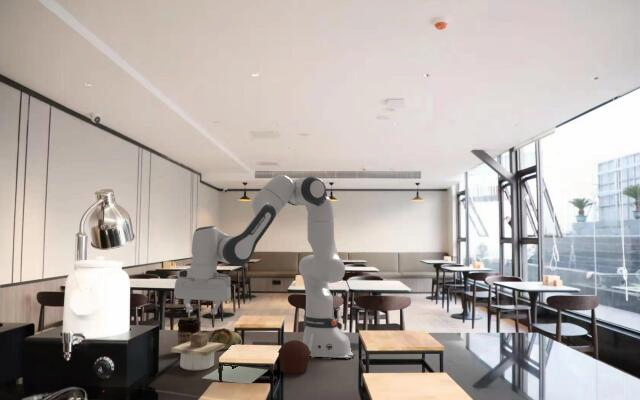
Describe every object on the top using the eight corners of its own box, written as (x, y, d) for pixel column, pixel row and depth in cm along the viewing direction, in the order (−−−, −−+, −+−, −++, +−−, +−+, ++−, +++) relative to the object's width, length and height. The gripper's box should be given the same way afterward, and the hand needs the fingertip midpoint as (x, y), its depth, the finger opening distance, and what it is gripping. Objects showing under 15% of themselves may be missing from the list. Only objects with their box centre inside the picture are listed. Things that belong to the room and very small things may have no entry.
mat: (268, 371, 144) (268, 369, 144) (249, 386, 129) (249, 384, 129) (225, 366, 148) (225, 364, 148) (201, 379, 133) (201, 378, 133)
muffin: (301, 379, 138) (303, 347, 139) (271, 374, 142) (272, 343, 143) (314, 369, 149) (316, 340, 150) (286, 365, 153) (287, 336, 154)
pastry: (207, 351, 167) (209, 330, 168) (206, 343, 179) (208, 324, 180) (243, 350, 171) (245, 329, 172) (240, 343, 183) (241, 324, 184)
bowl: (219, 365, 149) (220, 347, 150) (203, 374, 139) (204, 355, 139) (190, 361, 152) (192, 344, 152) (173, 370, 141) (174, 351, 142)
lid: (224, 347, 150) (225, 332, 151) (206, 356, 138) (207, 339, 138) (191, 343, 154) (192, 328, 154) (170, 352, 141) (171, 335, 142)
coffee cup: (191, 356, 158) (193, 320, 159) (170, 354, 159) (173, 319, 161) (202, 351, 166) (204, 317, 168) (182, 349, 168) (185, 315, 169)
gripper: (235, 273, 149) (233, 313, 148) (182, 270, 154) (180, 309, 153) (226, 274, 143) (224, 316, 142) (172, 272, 148) (170, 312, 147)
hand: (201, 313), depth 147 cm, fingers open, 8 cm apart
